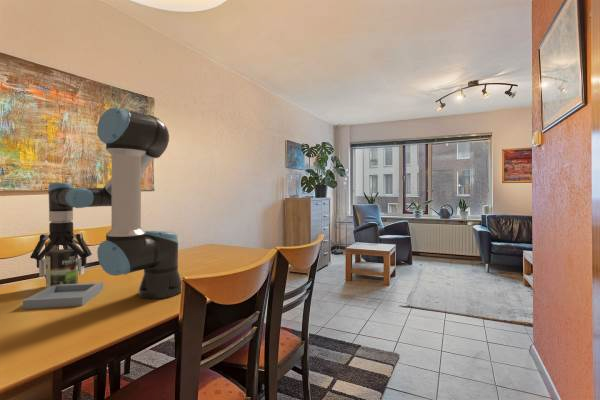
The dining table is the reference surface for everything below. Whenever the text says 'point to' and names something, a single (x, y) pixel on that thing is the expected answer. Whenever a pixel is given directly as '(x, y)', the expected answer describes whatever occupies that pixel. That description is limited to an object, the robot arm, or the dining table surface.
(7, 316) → the dining table surface
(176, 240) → the robot arm
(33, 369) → the dining table surface
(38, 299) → the grey square tray
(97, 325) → the dining table surface
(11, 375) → the dining table surface
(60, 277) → the coffee can
